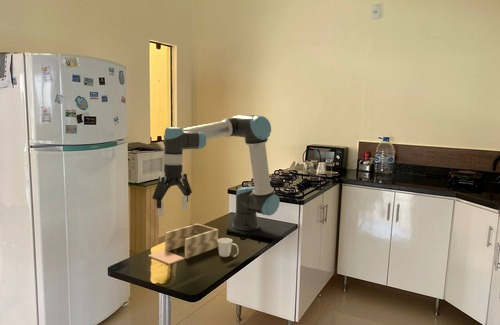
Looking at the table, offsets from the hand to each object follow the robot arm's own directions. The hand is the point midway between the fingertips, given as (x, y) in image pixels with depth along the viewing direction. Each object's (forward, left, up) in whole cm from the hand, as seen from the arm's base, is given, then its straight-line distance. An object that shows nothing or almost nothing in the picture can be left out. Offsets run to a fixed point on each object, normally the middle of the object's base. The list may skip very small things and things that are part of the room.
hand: (172, 212), depth 166 cm
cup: (-17, +18, -21) cm, 32 cm away
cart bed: (-12, 0, -21) cm, 24 cm away
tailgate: (-1, 0, -19) cm, 19 cm away
